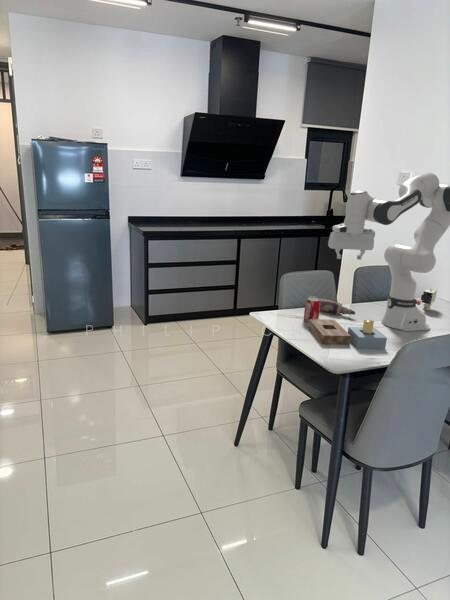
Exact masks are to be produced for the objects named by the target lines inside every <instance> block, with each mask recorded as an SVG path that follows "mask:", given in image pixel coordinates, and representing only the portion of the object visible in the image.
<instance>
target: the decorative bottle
mask: <svg viewBox="0 0 450 600" xmlns="http://www.w3.org/2000/svg"><path fill="white" fill-rule="evenodd" d="M309 297H314V298H318V299H320V311H321V312H325V313H328V314H332V315H334V316H341V315H349V316H352V315H356V311H354V310H353V309H351V308H348V307H346V306H344V305H343V303H341V302H339V301H334V300H333V301H332V300H330V299H325V298H322V297H318V296H314V295H310V296H309Z"/></svg>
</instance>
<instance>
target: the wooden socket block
mask: <svg viewBox="0 0 450 600" xmlns="http://www.w3.org/2000/svg"><path fill="white" fill-rule="evenodd" d="M307 325H308V327H307V328H308V329H309V331H311V333H312V334H313V335H314V337H315V338H316V339H317V341H318V342H320V344H321V345H331V346H332V345H335V346H337V345H339V346H340V345H341V346H345V345H346V346H348V345H349V346H350V343H351V341H350V338H351V336H350V335H349V334H348V331H347V330H345V328H344V327H343V326H342V325H340V323H338V322H337V321H336V320H335V319H326V318H325V319H323V318H322V319H321V318H320V319H309V323H308V324H307Z"/></svg>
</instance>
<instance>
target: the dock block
mask: <svg viewBox="0 0 450 600" xmlns="http://www.w3.org/2000/svg"><path fill="white" fill-rule="evenodd" d="M362 331H363V326H359V327H358V326H348V328H347V333H348V334H349V335H350V336H351V338H350V343H352V344H353V346H354V347H355V348H356V349H359V350H361V349H362V350H365V349H366V350H386V347H387V340H388V337H387V336H386V335H384V334H383V333H382V332H381V331H380V330H379V329H377V328H376V327H374V326H373V331H372V335H364V334H363V333H362Z"/></svg>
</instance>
